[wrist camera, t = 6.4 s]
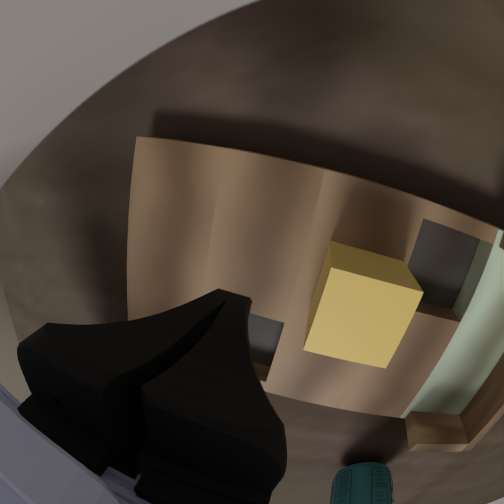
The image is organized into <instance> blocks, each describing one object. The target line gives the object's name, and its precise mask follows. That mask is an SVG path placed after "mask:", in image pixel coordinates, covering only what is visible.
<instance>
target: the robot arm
mask: <svg viewBox="0 0 504 504" xmlns="http://www.w3.org/2000/svg"><path fill="white" fill-rule="evenodd" d="M251 305H252V300H251V298H250V297H246V296H243V295H240V294H236V293H233V292H229V291H226V290H223V289H219V288H218V289H216V290H214V291H211V292H209V293H207V294H205V295H203V296H201V297H199V298H197V299H194V300H192V301H190V302H188V303H185V304H183V305H180V306H178V307H175V308H172V309H170V310H167V311H164V312H161V313H158V314H155V315H151V316H147V317H143V318H139V319H135V320H129V321H122V322H116V323H108V324H92V325H72V324H56V323H47V324H45V325H44V326H42V327H41V328H40V329H38V330H37V331H36V332H34V333H33V334H31V335H30V336H29V337H27V338H26V339H25V340H23V341H22V342H21V343H19V345H18V348H17V355H18V361H19V364H20V367H21V370H22V372H23V375H24V377H25V379H26V382H27V384H28V386H29V389H30V391H31V393H32V395H30V396H29V397H28V398H27V399H26V400H25V401H24V402H23V403H21V402H19V401H18V400H17V399H16V398H15V397H14V396H13V395H12V394H11V393H10V392H9V391H8V390H7V389H5V387H4V386H2V385H1V383H0V504H269V501H270V497H271V493H272V491H273V490H274V488H275V487H276V486H277V485H278V483H279V482H280V481H281V479H282V478H283V476H284V474H285V471H286V465H287V445H286V436H285V429H284V424H283V423H282V421H281V420H280V418H279V417H278V415H277V413H276V412H275V410H274V408H273V407H272V405H271V403H270V401H269V399H268V397H267V395H266V394H265V391H264V389H263V387H262V384H261V382H260V379H259V377H258V374H257V372H256V368H255V365H254V362H253V358H252V353H251V348H250V342H249V334H248V318H249V314H250V310H251Z"/></svg>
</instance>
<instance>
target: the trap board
mask: <svg viewBox="0 0 504 504" xmlns="http://www.w3.org/2000/svg"><path fill="white" fill-rule="evenodd" d="M330 241H333V242H337V243H340V244H344V245H348V246H351V247H355V248H359V249H362V250H366V251H369V252H373V253H376V254H380V255H384V256H387V257H391V258H394V259H397V260H401V261H404V262H405V264H406V265H407V267H408V268H409V270H410V271H411V273H412V275H413V276H414V278H415V279H416V281H417V282H418V284H419V286H420V287H421V289H422V290H423V292H424V293H423V295H422V297H421V300H420V302H419V304H418V306H417V309H416V311H415V313H414V315H413V317H412V319H411V321H410V323H409V325H408V328H407V330H406V332H405V334H404V336H403V338H402V339H401V341H400V343H399V345H398V347H397V349H396V351H395V353H394V355H393V356H392V358H391V360H390V362H389V364H388V365H387V367H386V368H381V367H375V366H370V365H366V364H361V363H356V362H352V361H347V360H342V359H338V358H334V357H329V356H325V355H321V354H317V353H313V352H309V351H305V350H303V347H304V340H305V334H306V327H307V320H308V313H309V308H310V305H311V302H312V299H313V296H314V293H315V290H316V286H317V283H318V280H319V277H320V273H321V270H322V267H323V263H324V260H325V256H326V253H327V250H328V246H329V243H330ZM218 288H219V289H223V290H226V291H229V292H233V293H236V294H240V295H243V296H246V297H250V298H251V300H252V305H251V310H250V314H249V318H248V334H249V342H250V348H251V353H252V358H253V362H254V365H255V368H256V372H257V374H258V377H259V379H260V382H261V384H262V387H263V389H264V391H266V392H270V393H274V394H277V395H281V396H285V397H289V398H293V399H297V400H301V401H306V402H310V403H314V404H319V405H324V406H329V407H334V408H339V409H344V410H350V411H355V412H361V413H368V414H374V415H382V416H389V417H397V418H404V419H405V425H406V431H407V438H408V445H409V451H422V452H448V451H469V450H470V449H471V448H472V447H473V446H474V445H475V444H476V443H477V442H478V441H479V440H480V439H481V438H482V437H483V436H484V435H485V434H486V433H487V432H488V431H489V430H490V429H491V427H492V426H493V425H494V424H495V423H496V422H497V421H498V420H499V418H500V417H501V416H502V415H503V414H504V230H502V229H500V228H498V227H495V226H493V225H491V224H489V223H486V222H484V221H482V220H479V219H477V218H475V217H472V216H470V215H467V214H465V213H463V212H460V211H458V210H455V209H452V208H450V207H447V206H445V205H442V204H439V203H437V202H434V201H431V200H428V199H426V198H423V197H420V196H417V195H414V194H411V193H408V192H405V191H402V190H399V189H396V188H393V187H390V186H387V185H384V184H380V183H377V182H374V181H371V180H367V179H364V178H360V177H357V176H353V175H350V174H346V173H343V172H339V171H335V170H331V169H327V168H324V167H320V166H316V165H311V164H307V163H303V162H299V161H295V160H290V159H286V158H281V157H276V156H272V155H267V154H262V153H257V152H252V151H246V150H241V149H235V148H229V147H224V146H217V145H211V144H205V143H198V142H191V141H183V140H176V139H167V138H159V137H139V136H137V138H136V145H135V152H134V161H133V169H132V179H131V190H130V203H129V218H128V240H127V308H128V321H129V320H135V319H139V318H143V317H147V316H151V315H155V314H158V313H161V312H164V311H167V310H170V309H172V308H175V307H178V306H180V305H183V304H185V303H188V302H190V301H192V300H194V299H197V298H199V297H201V296H203V295H205V294H207V293H209V292H211V291H214V290H216V289H218Z"/></svg>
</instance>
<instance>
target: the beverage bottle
mask: <svg viewBox="0 0 504 504" xmlns="http://www.w3.org/2000/svg"><path fill="white" fill-rule="evenodd" d="M390 472H391V471H390V470H389V468H388V467H387V466H386V465H384V464H381V463H375V462H366V463H358V464H353V465H350V466H347V467H345V468H343V469H341V470H340V471H338V472H337V474H336V475H335V478H334V481H333V480H332V481H333V483H332V485H333V486H332V490H331V491H333V492H331V497H330V499H331V501H332V502H330V504H392V501H393V500H392V491H393V490H392V489H393V481H392V485H391V480H392V479H391V478H392V477H391V476H392V475H391V474H390ZM393 503H394V502H393Z"/></svg>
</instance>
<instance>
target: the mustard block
mask: <svg viewBox="0 0 504 504" xmlns="http://www.w3.org/2000/svg"><path fill="white" fill-rule="evenodd" d="M423 293H424V292H423V290H422V289H421V287H420V286H419V284H418V282H417V281H416V279H415V278H414V276H413V275H412V273H411V271H410V270H409V268H408V267H407V265H406V264H405V262H404V261H401V260H397V259H394V258H391V257H387V256H384V255H380V254H376V253H373V252H369V251H366V250H362V249H359V248H355V247H351V246H348V245H344V244H340V243H337V242H333V241H330V243H329V246H328V250H327V253H326V256H325V260H324V263H323V267H322V270H321V273H320V277H319V280H318V283H317V286H316V290H315V293H314V296H313V299H312V302H311V305H310V308H309V313H308V320H307V327H306V334H305V340H304V347H303V350H305V351H309V352H313V353H317V354H321V355H325V356H329V357H334V358H338V359H342V360H347V361H352V362H356V363H361V364H366V365H370V366H375V367H381V368H386V367H387V365H388V364H389V362H390V360H391V358H392V356H393V355H394V353H395V351H396V349H397V347H398V345H399V343H400V341H401V339H402V338H403V336H404V334H405V332H406V330H407V328H408V325H409V323H410V321H411V319H412V317H413V315H414V313H415V311H416V309H417V306H418V304H419V302H420V300H421V297H422V295H423Z"/></svg>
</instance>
